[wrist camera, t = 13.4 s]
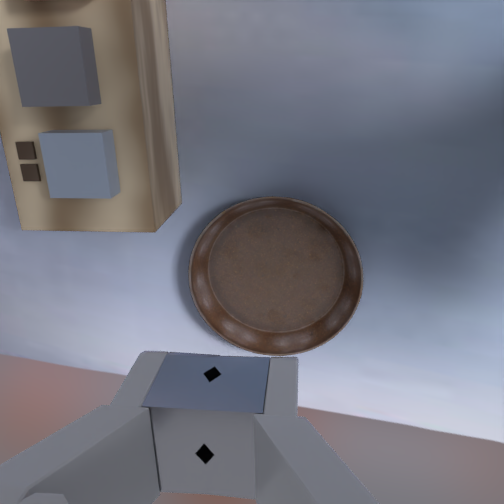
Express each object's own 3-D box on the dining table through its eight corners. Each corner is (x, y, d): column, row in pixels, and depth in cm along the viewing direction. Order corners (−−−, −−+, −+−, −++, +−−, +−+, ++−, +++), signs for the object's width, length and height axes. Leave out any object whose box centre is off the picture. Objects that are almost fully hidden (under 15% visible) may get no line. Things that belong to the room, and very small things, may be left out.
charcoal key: (91, 28, 32) (78, 26, 30) (101, 103, 34) (89, 106, 32) (23, 30, 32) (6, 28, 30) (37, 104, 34) (22, 106, 32)
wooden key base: (156, -106, 37) (112, -157, 29) (181, 203, 47) (153, 233, 38) (18, -97, 39) (-64, -144, 30) (70, 202, 48) (19, 231, 40)
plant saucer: (339, 169, 44) (341, 175, 41) (375, 324, 50) (379, 339, 47) (171, 213, 48) (163, 223, 45) (223, 353, 54) (219, 369, 51)
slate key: (112, 129, 36) (101, 132, 34) (120, 192, 37) (111, 198, 36) (51, 129, 36) (38, 133, 34) (62, 191, 38) (50, 197, 36)
